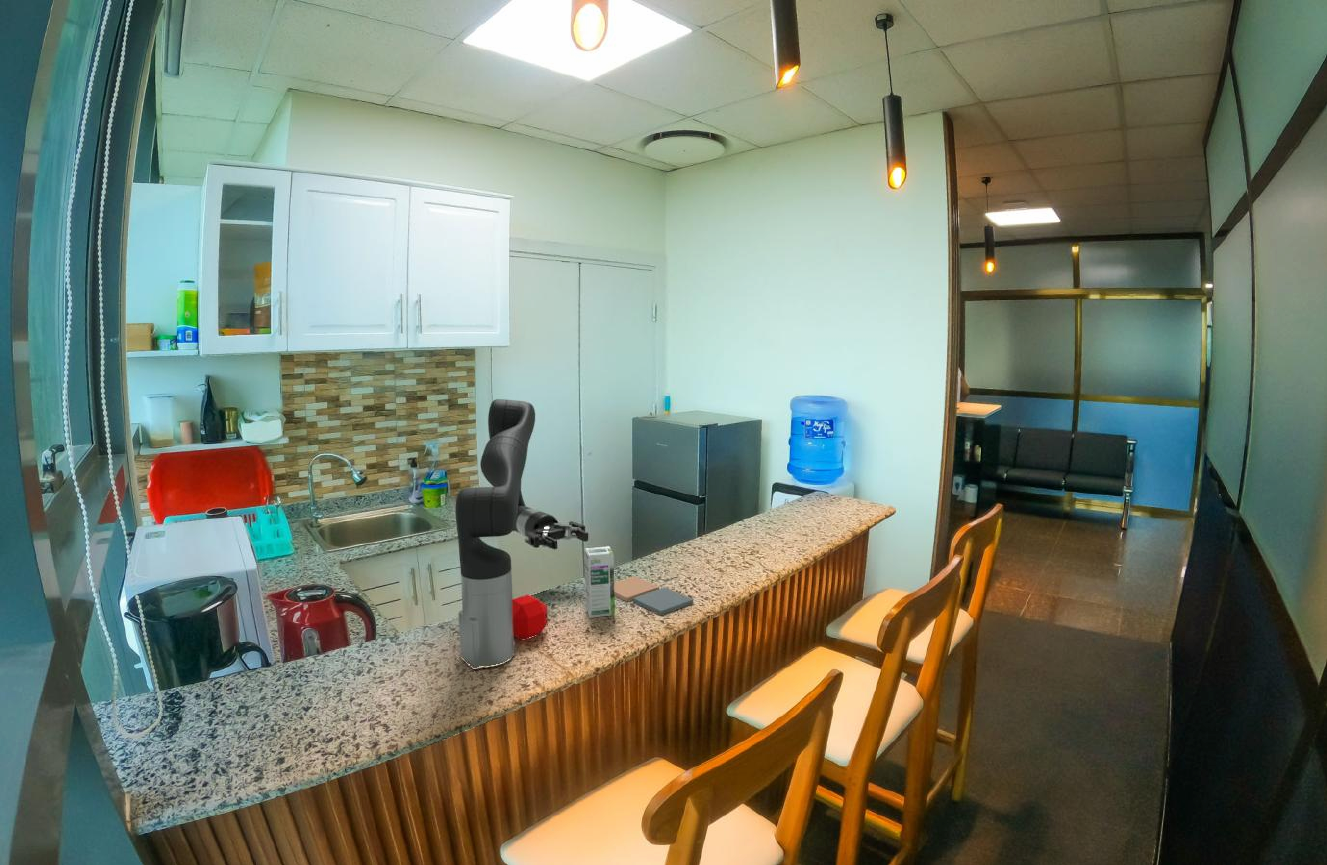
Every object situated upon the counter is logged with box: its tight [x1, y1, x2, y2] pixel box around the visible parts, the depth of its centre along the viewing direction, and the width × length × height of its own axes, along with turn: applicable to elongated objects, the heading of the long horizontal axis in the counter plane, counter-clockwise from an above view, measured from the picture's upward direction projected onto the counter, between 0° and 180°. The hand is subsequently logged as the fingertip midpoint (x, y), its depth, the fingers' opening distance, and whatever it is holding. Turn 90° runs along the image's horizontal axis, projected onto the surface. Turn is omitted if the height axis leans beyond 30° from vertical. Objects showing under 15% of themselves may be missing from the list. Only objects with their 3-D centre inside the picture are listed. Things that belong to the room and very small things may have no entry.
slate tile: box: [632, 586, 694, 616], centre depth 145 cm, size 10×10×1 cm
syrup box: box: [583, 545, 616, 619], centre depth 140 cm, size 6×6×14 cm
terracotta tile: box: [614, 575, 660, 603], centre depth 153 cm, size 10×10×1 cm
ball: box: [512, 594, 549, 640], centre depth 129 cm, size 8×8×8 cm
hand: (571, 541), depth 147 cm, fingers open, 8 cm apart
